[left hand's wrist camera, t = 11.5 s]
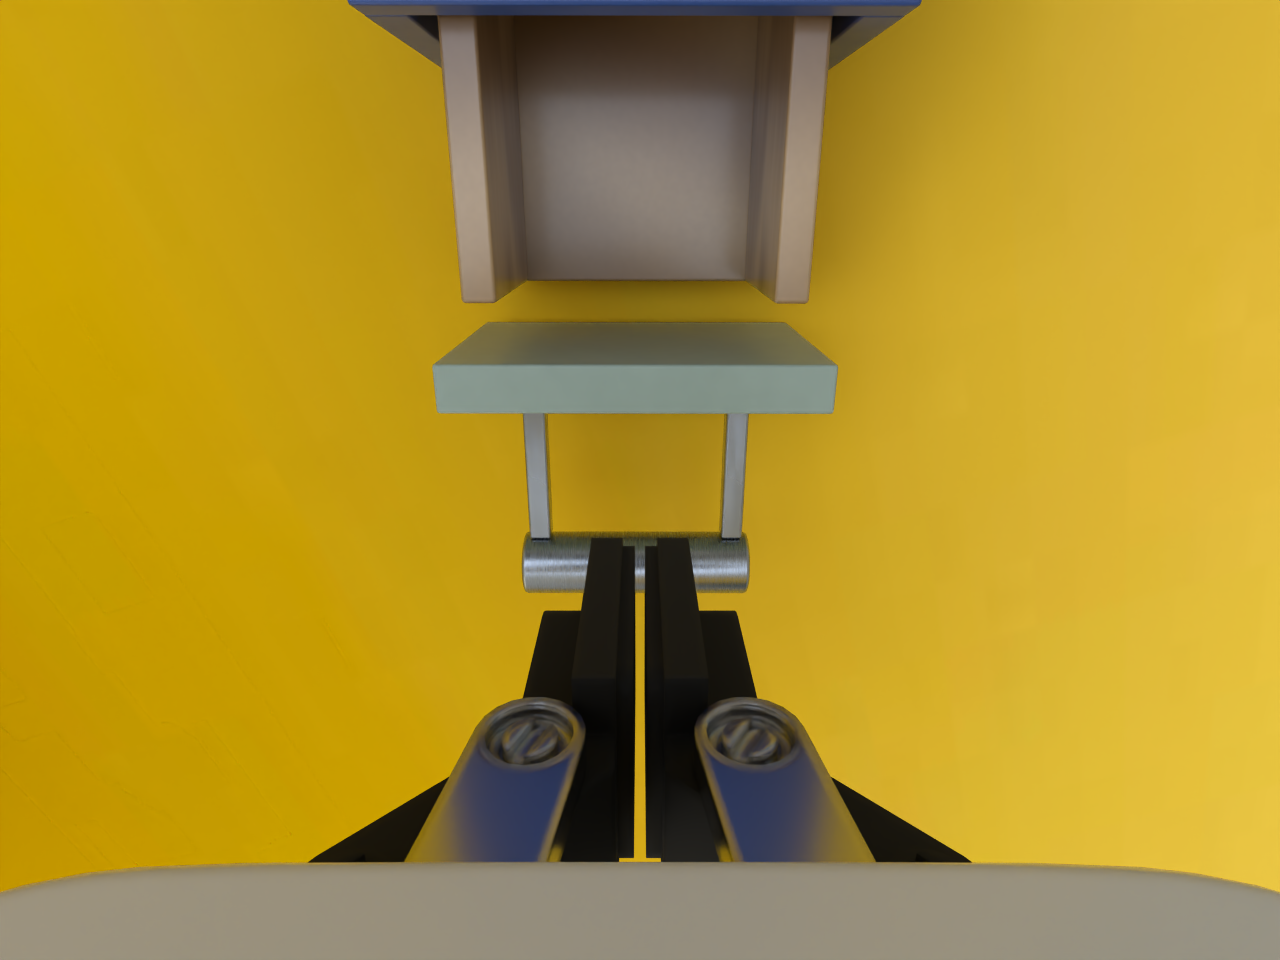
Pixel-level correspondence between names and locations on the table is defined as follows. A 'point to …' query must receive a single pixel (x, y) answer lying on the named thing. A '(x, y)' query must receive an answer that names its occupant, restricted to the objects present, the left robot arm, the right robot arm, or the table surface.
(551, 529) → the drawer
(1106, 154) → the table surface
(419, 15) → the cabinet
